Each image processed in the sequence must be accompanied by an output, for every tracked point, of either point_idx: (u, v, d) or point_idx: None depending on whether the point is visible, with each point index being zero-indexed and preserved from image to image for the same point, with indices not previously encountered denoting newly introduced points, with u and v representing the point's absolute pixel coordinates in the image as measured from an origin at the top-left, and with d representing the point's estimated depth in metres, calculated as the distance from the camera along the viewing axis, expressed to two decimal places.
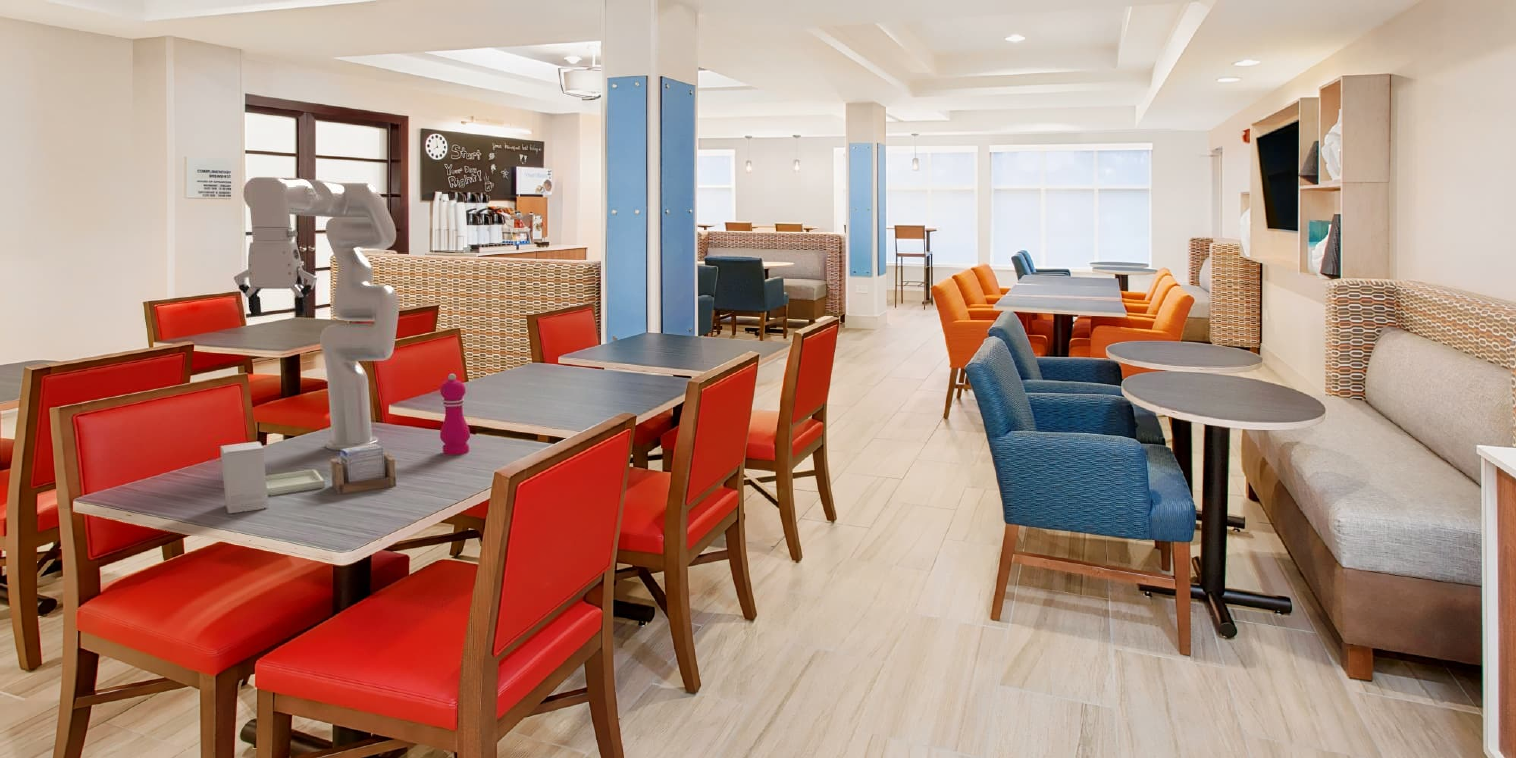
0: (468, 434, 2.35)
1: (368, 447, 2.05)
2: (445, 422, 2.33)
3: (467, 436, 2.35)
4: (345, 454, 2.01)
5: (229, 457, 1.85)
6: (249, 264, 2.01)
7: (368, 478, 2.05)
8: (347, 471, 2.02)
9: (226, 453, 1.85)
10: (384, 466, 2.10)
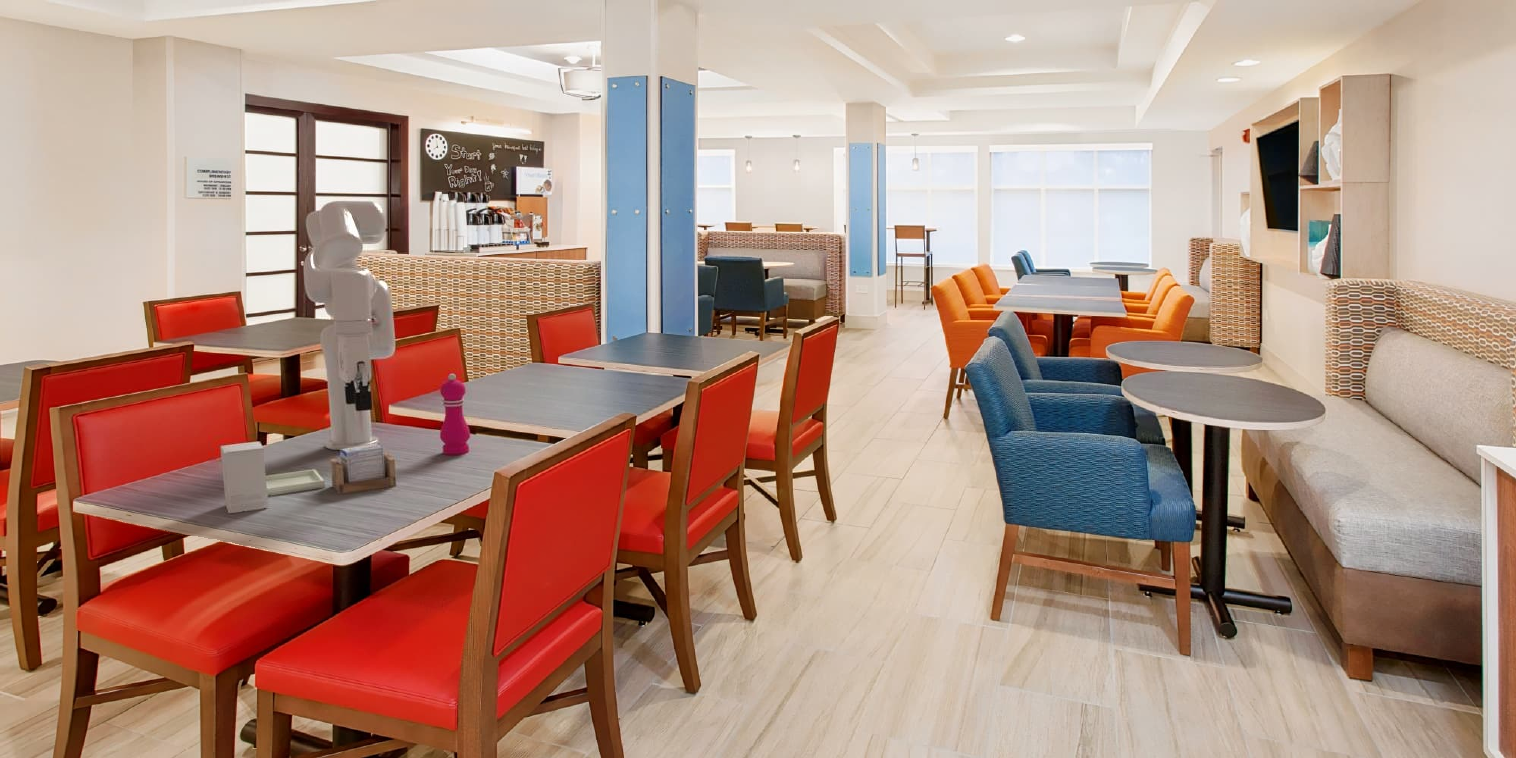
0: (468, 434, 2.35)
1: (368, 447, 2.05)
2: (445, 422, 2.33)
3: (467, 436, 2.35)
4: (345, 454, 2.01)
5: (229, 457, 1.85)
6: (369, 357, 1.99)
7: (368, 478, 2.05)
8: (347, 471, 2.02)
9: (226, 453, 1.85)
10: (384, 466, 2.10)
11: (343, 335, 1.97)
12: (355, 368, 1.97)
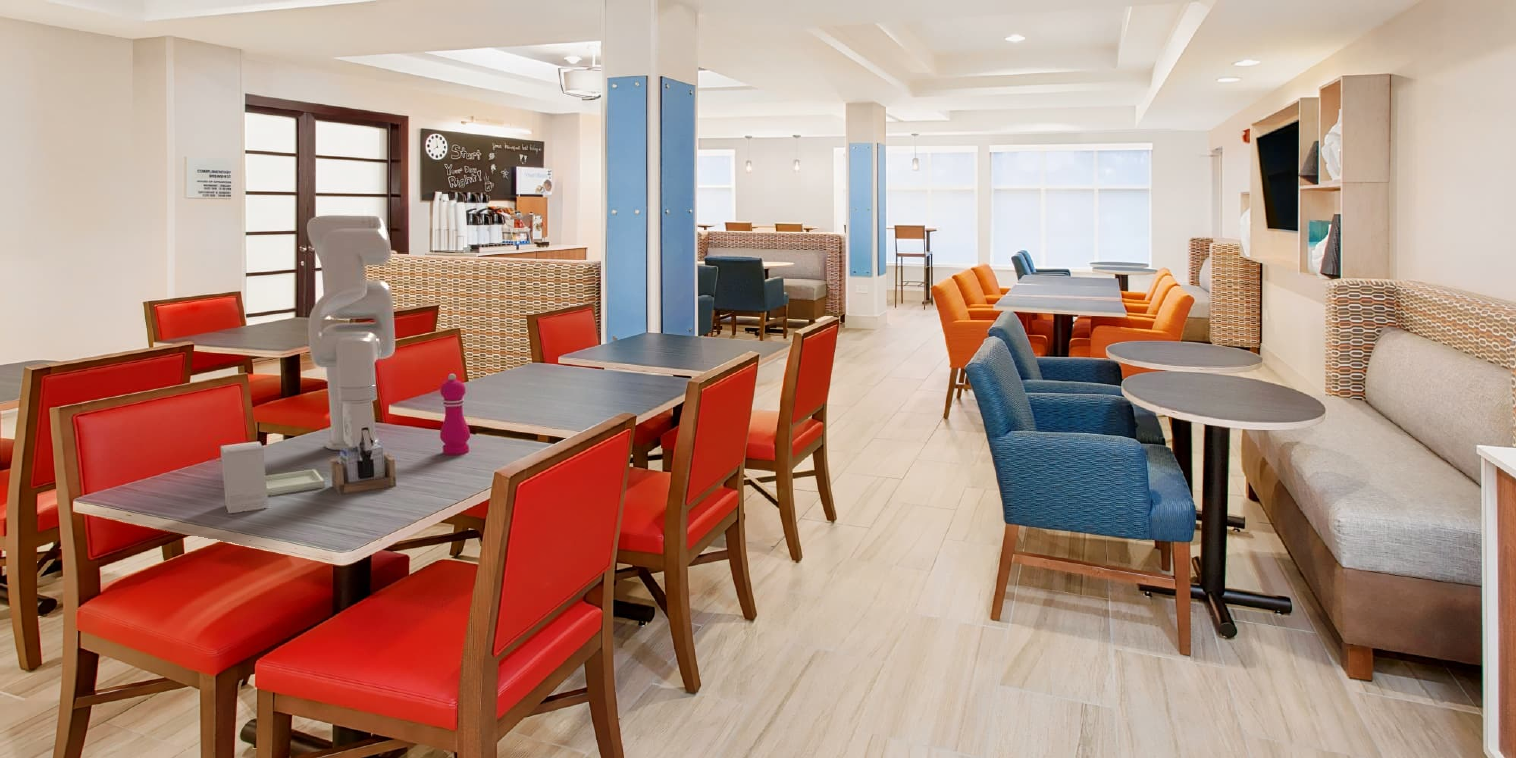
0: (468, 434, 2.35)
1: None
2: (445, 422, 2.33)
3: (467, 436, 2.35)
4: (345, 454, 2.01)
5: (229, 457, 1.85)
6: None
7: (368, 478, 2.05)
8: (347, 471, 2.02)
9: (226, 453, 1.85)
10: (384, 466, 2.10)
11: (348, 402, 1.99)
12: (360, 434, 1.99)
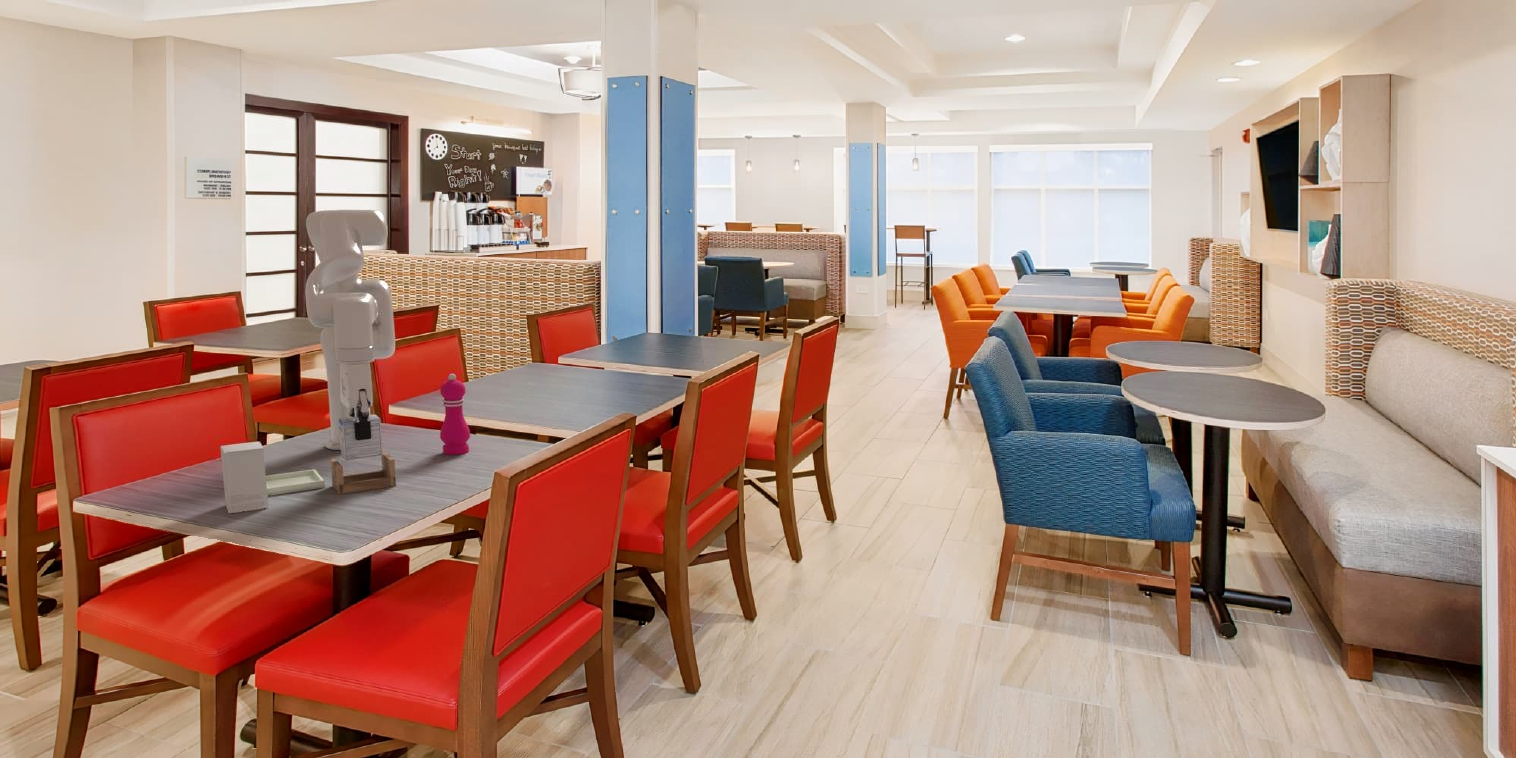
0: (468, 434, 2.35)
1: None
2: (445, 422, 2.33)
3: (467, 436, 2.35)
4: (341, 424, 2.01)
5: (229, 457, 1.85)
6: (371, 384, 2.00)
7: (365, 449, 2.04)
8: (343, 441, 2.02)
9: (226, 453, 1.85)
10: (384, 466, 2.10)
11: (345, 362, 1.98)
12: (357, 395, 1.98)
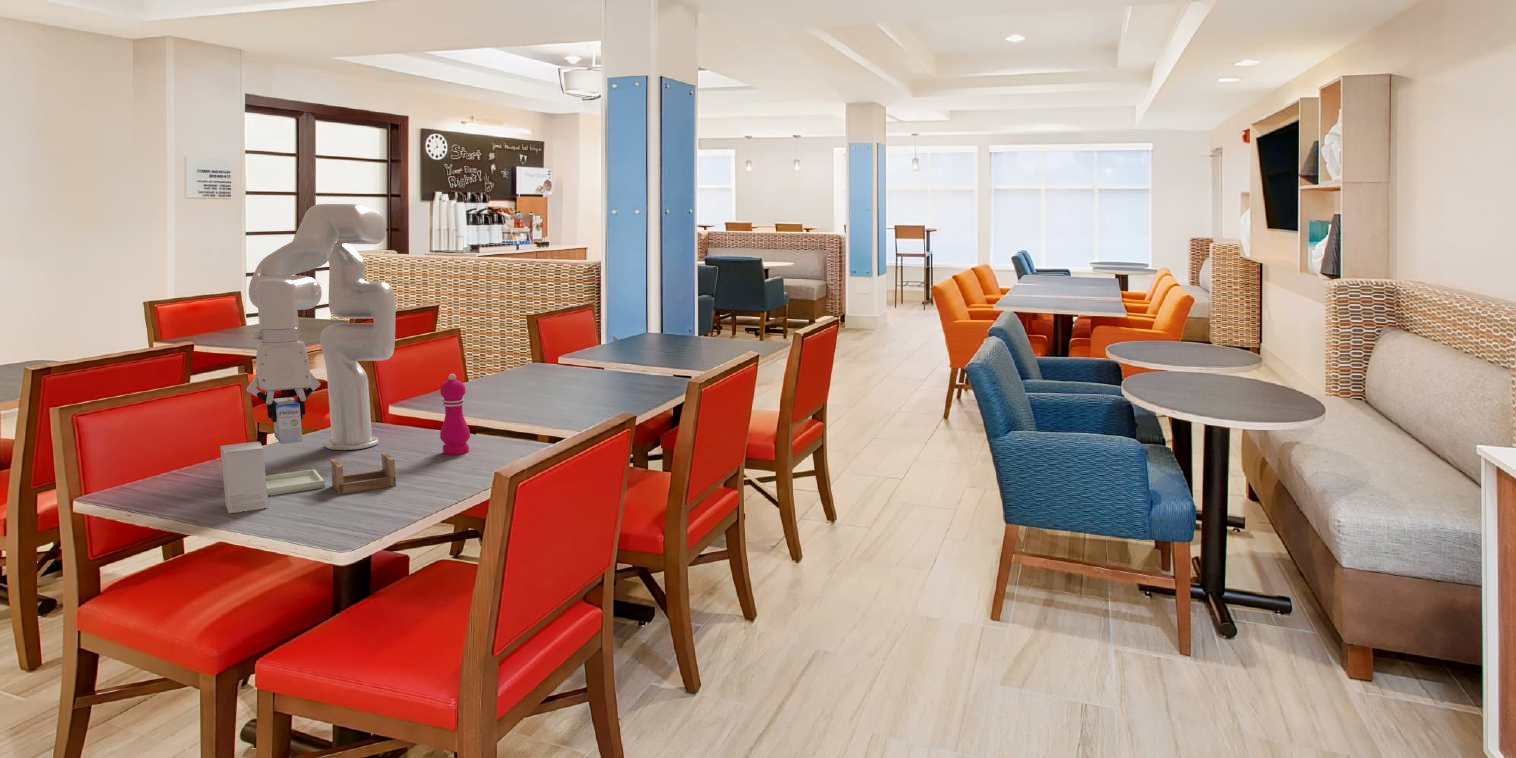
0: (468, 434, 2.35)
1: (286, 399, 2.04)
2: (445, 422, 2.33)
3: (467, 436, 2.35)
4: (294, 405, 2.01)
5: (229, 457, 1.85)
6: None
7: None
8: (298, 422, 2.02)
9: (226, 453, 1.85)
10: (384, 466, 2.10)
11: (296, 342, 2.00)
12: None
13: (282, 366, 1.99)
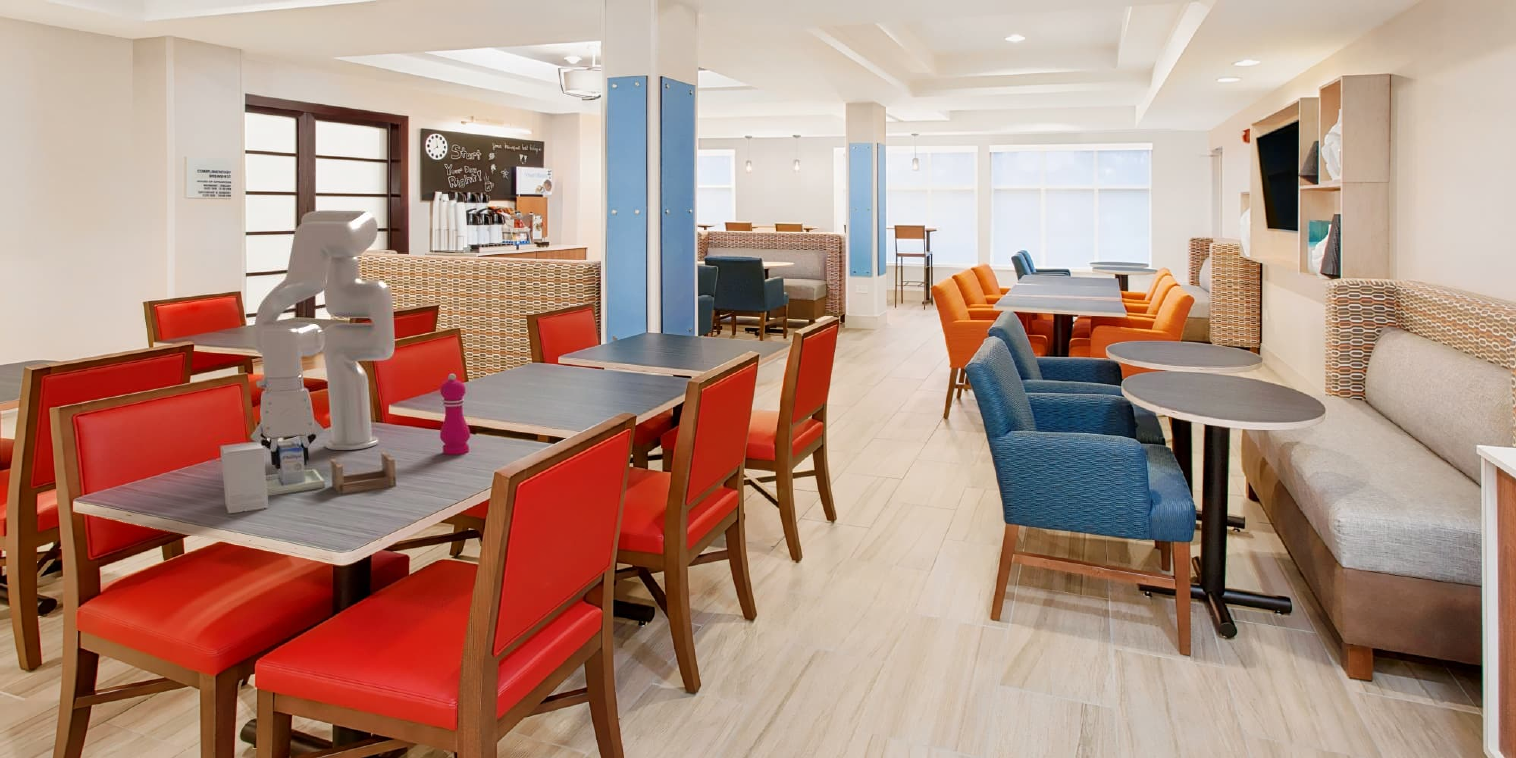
0: (468, 434, 2.35)
1: (290, 443, 2.06)
2: (445, 422, 2.33)
3: (467, 436, 2.35)
4: (298, 450, 2.02)
5: (229, 457, 1.85)
6: None
7: None
8: (301, 466, 2.03)
9: (226, 453, 1.85)
10: (384, 466, 2.10)
11: (300, 389, 2.02)
12: (313, 418, 2.06)
13: (286, 414, 2.01)
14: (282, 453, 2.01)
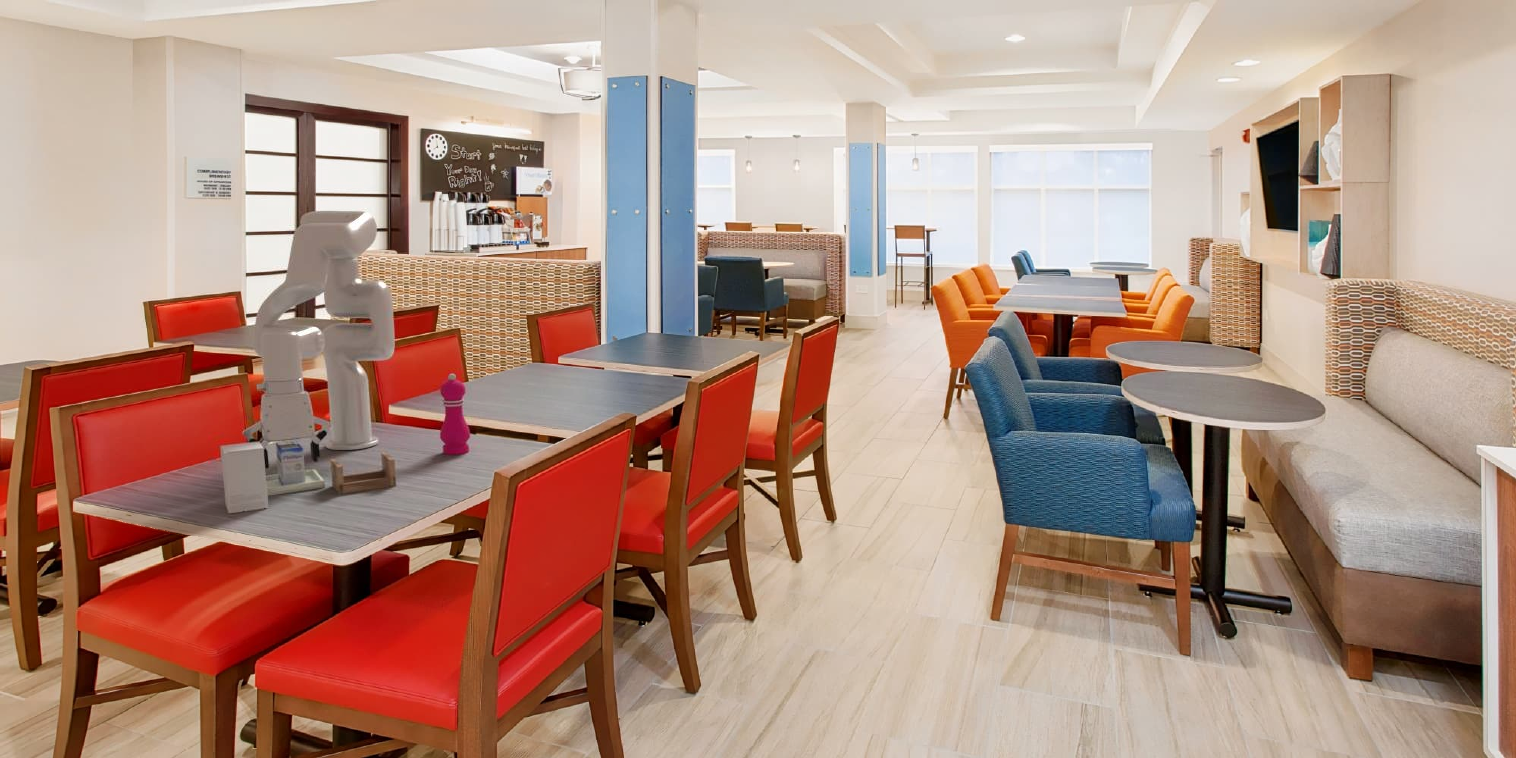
0: (468, 434, 2.35)
1: (290, 443, 2.06)
2: (445, 422, 2.33)
3: (467, 436, 2.35)
4: (298, 450, 2.02)
5: (229, 457, 1.85)
6: None
7: None
8: (301, 466, 2.03)
9: (226, 453, 1.85)
10: (384, 466, 2.10)
11: (300, 392, 2.02)
12: (313, 421, 2.06)
13: (286, 417, 2.01)
14: (282, 453, 2.01)
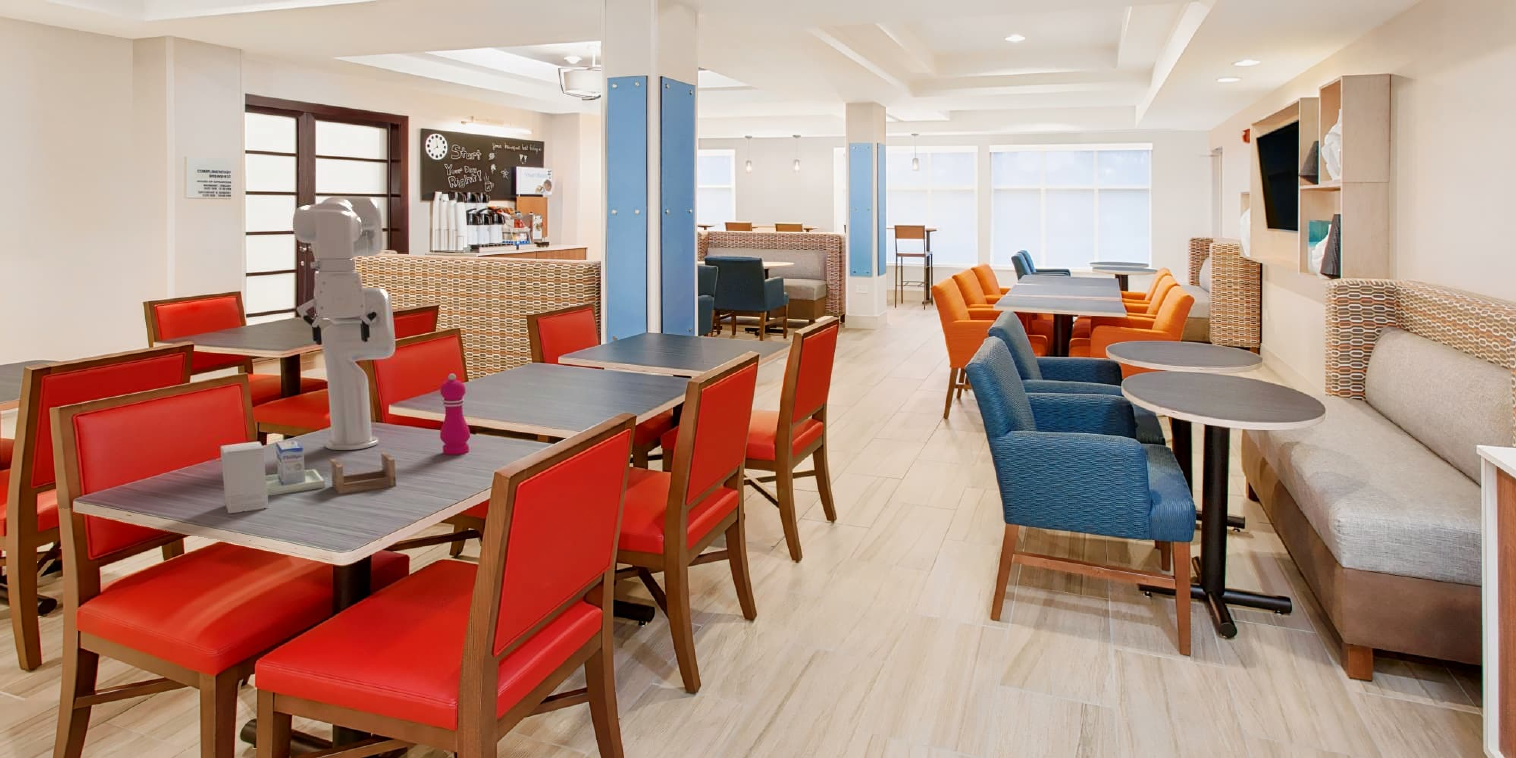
0: (468, 434, 2.35)
1: (290, 443, 2.06)
2: (445, 422, 2.33)
3: (467, 436, 2.35)
4: (298, 450, 2.02)
5: (229, 457, 1.85)
6: None
7: None
8: (301, 466, 2.03)
9: (226, 453, 1.85)
10: (384, 466, 2.10)
11: (352, 272, 2.09)
12: None
13: (339, 295, 2.07)
14: (282, 453, 2.01)
